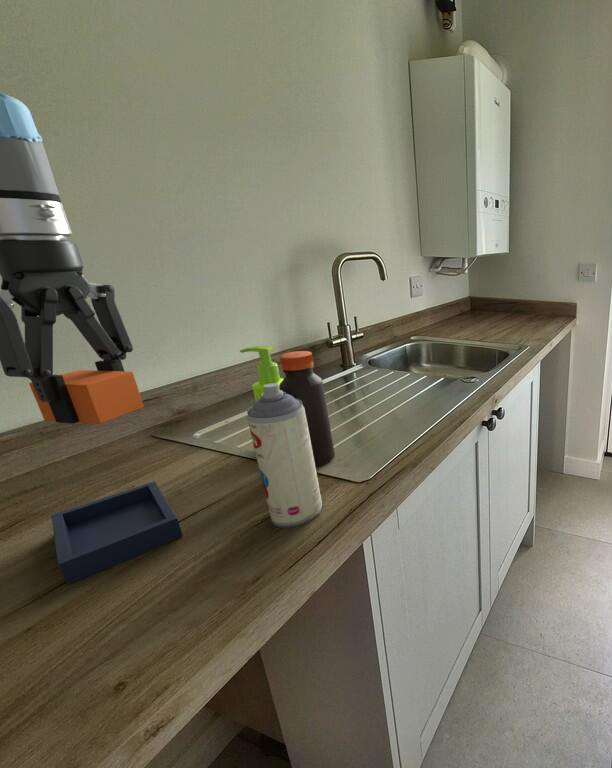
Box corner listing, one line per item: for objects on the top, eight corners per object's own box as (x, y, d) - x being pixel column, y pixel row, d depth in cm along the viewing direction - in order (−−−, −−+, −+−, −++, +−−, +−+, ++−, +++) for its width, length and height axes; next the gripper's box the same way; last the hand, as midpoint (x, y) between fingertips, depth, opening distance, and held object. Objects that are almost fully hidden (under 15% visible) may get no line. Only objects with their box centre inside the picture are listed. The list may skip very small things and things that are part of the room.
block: (44, 421, 56) (28, 383, 54) (92, 404, 61) (79, 369, 60) (100, 424, 54) (86, 385, 53) (144, 407, 60) (132, 371, 58)
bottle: (291, 457, 76) (270, 353, 70) (330, 447, 80) (313, 347, 73) (298, 472, 71) (276, 362, 64) (339, 461, 75) (321, 355, 68)
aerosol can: (273, 505, 62) (244, 381, 55) (322, 494, 65) (300, 374, 58) (269, 533, 56) (236, 397, 50) (323, 519, 59) (298, 389, 52)
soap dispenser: (272, 438, 83) (251, 343, 77) (305, 438, 83) (287, 343, 77) (254, 452, 78) (230, 350, 71) (290, 452, 78) (269, 351, 71)
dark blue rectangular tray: (59, 533, 56) (51, 514, 55) (160, 497, 64) (154, 480, 63) (67, 585, 48) (58, 564, 47) (183, 536, 56) (177, 518, 55)
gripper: (-56, 237, 41) (34, 444, 48) (134, 239, 59) (179, 390, 66) (-114, 238, 42) (-17, 441, 49) (90, 240, 60) (139, 388, 67)
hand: (95, 411), depth 58 cm, fingers closed on block, 6 cm apart
